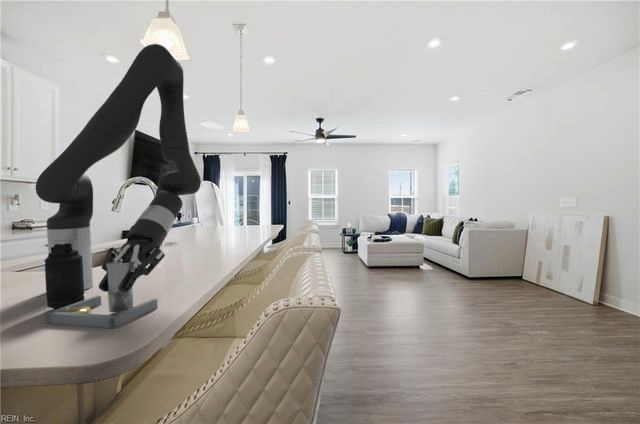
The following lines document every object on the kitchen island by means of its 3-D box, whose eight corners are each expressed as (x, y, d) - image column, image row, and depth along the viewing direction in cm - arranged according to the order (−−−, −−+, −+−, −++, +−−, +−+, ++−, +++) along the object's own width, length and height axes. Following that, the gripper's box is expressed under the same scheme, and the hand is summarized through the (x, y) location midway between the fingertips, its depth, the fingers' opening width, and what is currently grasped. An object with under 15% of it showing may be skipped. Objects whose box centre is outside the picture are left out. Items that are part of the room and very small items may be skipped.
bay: (45, 323, 60) (45, 313, 60) (97, 304, 71) (96, 295, 71) (114, 328, 57) (114, 318, 57) (157, 307, 68) (157, 298, 68)
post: (103, 311, 64) (101, 264, 63) (121, 304, 68) (119, 260, 67) (121, 312, 63) (118, 265, 62) (138, 305, 67) (135, 260, 67)
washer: (85, 320, 62) (84, 313, 62) (62, 322, 61) (61, 315, 61) (94, 312, 66) (93, 305, 65) (72, 314, 65) (72, 307, 64)
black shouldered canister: (92, 303, 72) (89, 241, 71) (66, 314, 65) (62, 245, 65) (64, 303, 72) (61, 241, 72) (36, 313, 66) (32, 245, 65)
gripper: (118, 217, 73) (71, 280, 62) (170, 217, 70) (130, 282, 59) (136, 236, 79) (96, 297, 67) (185, 236, 76) (151, 300, 64)
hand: (112, 290), depth 63 cm, fingers closed on post, 4 cm apart
